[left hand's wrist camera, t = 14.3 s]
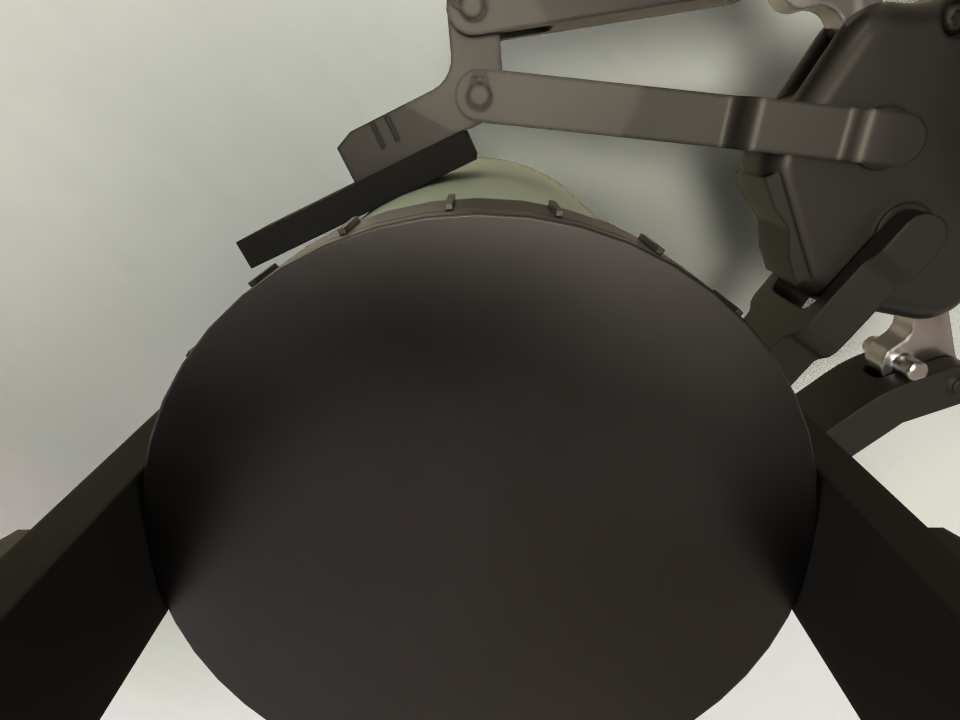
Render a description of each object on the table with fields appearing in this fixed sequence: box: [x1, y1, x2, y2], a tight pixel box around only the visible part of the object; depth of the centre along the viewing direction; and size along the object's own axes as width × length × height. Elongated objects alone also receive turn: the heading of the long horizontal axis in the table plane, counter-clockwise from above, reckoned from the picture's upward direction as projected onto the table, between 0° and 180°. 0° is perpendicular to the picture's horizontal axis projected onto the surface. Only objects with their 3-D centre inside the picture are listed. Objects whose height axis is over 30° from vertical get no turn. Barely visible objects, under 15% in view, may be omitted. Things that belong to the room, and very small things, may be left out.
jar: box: [360, 158, 597, 221], centre depth 18 cm, size 10×10×15 cm
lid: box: [143, 194, 818, 720], centre depth 11 cm, size 11×11×2 cm
